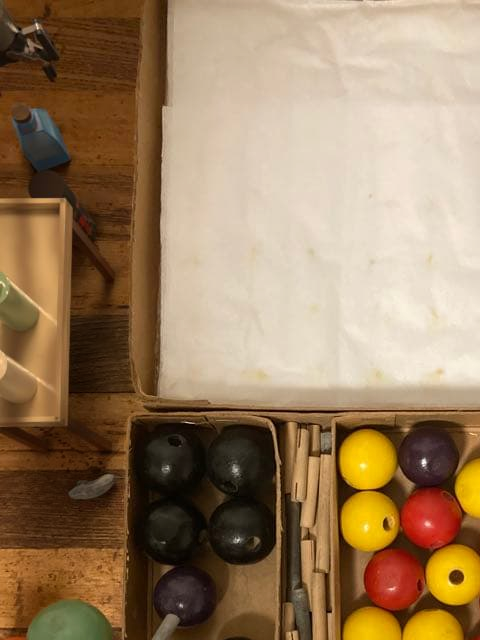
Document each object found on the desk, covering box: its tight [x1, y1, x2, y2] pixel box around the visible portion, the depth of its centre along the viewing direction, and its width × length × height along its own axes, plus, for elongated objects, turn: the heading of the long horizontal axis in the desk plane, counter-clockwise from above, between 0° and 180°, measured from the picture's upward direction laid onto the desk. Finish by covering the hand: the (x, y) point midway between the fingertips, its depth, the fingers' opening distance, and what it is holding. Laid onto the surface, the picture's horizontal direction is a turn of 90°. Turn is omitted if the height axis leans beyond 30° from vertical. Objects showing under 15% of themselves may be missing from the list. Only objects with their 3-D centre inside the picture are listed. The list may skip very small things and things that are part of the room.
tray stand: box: [0, 197, 116, 453], centre depth 136 cm, size 14×34×25 cm, turn 1°
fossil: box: [68, 473, 117, 500], centre depth 144 cm, size 8×4×5 cm, turn 112°
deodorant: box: [27, 169, 98, 247], centre depth 143 cm, size 6×6×15 cm
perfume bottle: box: [9, 101, 72, 173], centre depth 146 cm, size 6×6×12 cm
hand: (25, 84), depth 130 cm, fingers open, 8 cm apart
